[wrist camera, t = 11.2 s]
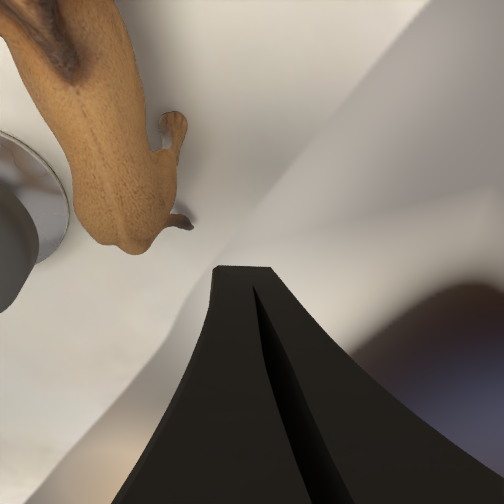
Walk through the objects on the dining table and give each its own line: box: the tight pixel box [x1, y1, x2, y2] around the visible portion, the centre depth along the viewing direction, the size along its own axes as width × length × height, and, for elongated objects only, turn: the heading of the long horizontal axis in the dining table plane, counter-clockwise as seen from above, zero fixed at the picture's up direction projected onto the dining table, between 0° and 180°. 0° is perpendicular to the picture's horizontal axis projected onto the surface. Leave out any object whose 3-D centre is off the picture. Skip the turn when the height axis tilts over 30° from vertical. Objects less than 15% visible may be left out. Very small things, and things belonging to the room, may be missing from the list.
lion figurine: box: [0, 0, 194, 255], centre depth 11 cm, size 15×5×9 cm, turn 21°
